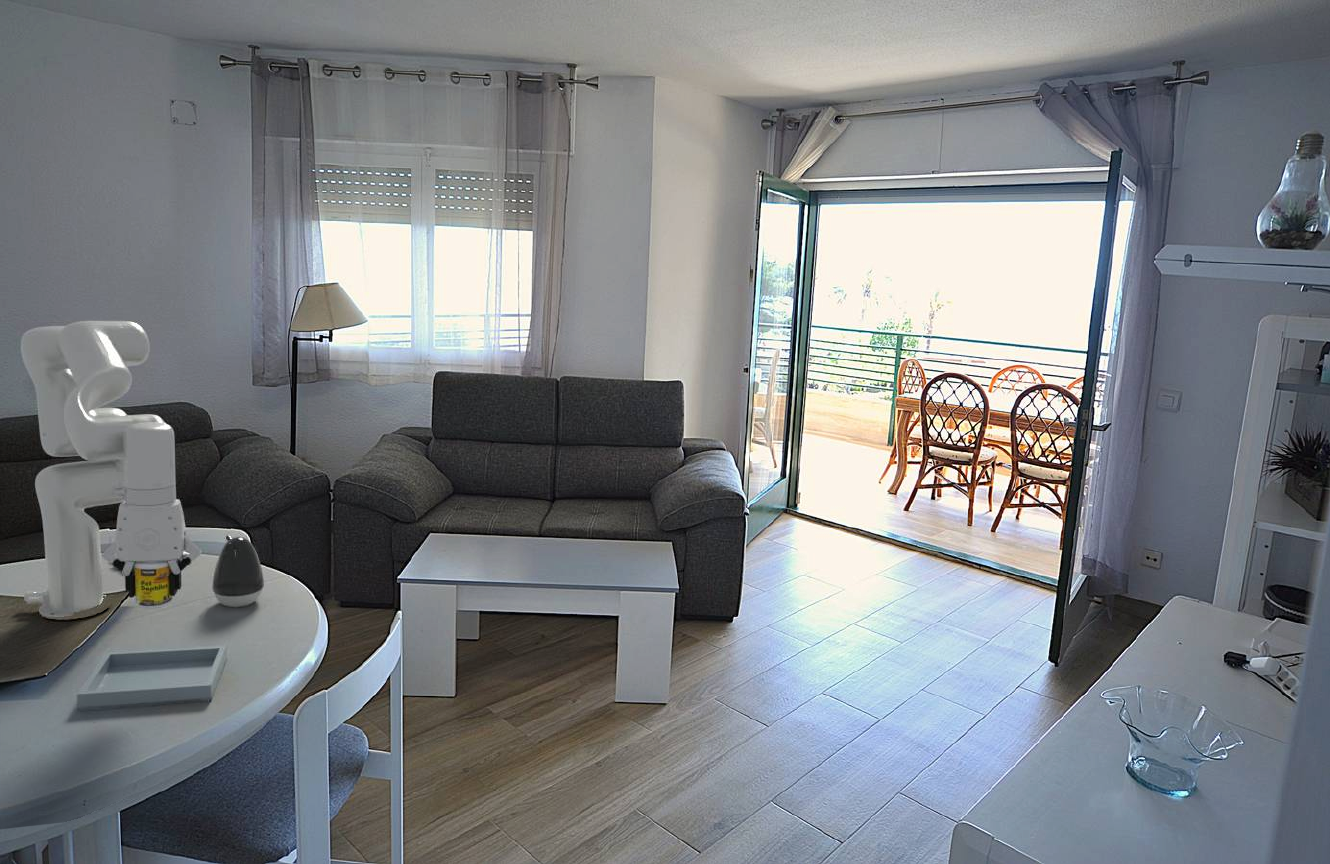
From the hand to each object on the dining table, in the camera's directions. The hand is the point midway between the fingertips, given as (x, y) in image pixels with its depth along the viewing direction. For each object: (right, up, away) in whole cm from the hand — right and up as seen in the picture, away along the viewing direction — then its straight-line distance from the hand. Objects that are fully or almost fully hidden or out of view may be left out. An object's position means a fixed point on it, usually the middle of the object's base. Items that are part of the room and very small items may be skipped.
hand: (154, 592), depth 151 cm
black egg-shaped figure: (-5, -10, +40) cm, 42 cm away
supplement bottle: (0, -2, 0) cm, 2 cm away
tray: (-1, -17, +3) cm, 17 cm away
